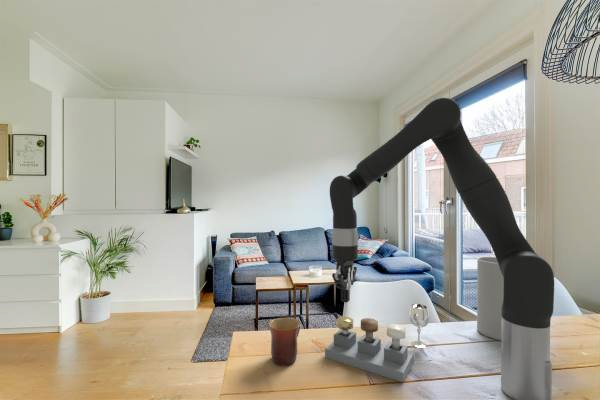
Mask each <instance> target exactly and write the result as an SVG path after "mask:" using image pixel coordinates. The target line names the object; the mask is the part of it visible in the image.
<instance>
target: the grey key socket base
mask: <svg viewBox="0 0 600 400" xmlns="http://www.w3.org/2000/svg"><path fill="white" fill-rule="evenodd" d="M381 340H382V339H381V338H379V337H375V336H373V344H372V343H368V342H366V334H363V335H362V336H361V337H358V336H357V332H355V331H352V330H348V337H346V336H342V329H339V330H338V331H336V332H335V333H334V334H333V341H332V342H331V343H330V344H329V345H327V347H325V348H324V357H325V358H326V359H329V360H333V361H335V362H339V363H342V364H345V365H347V366H351V367H354V368H357V369H361V370H363V371H366V372H370V373H373V374H376V375H379V376H382V377H385V378H388V379H392V380H395V381H397V382H400V383H404V382H405V380H406V378H407V376H408V374H409V372H410V370H411V368H412V366H413V364H414V362H415V352H414V351H410V350H408V347H409V346H408V345H406V344H402V343H400V351H398V350H395V349H392V341H390V340H389V341H388V342H387V344H384V343H381Z"/></svg>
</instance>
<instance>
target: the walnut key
mask: <svg viewBox="0 0 600 400" xmlns="http://www.w3.org/2000/svg"><path fill="white" fill-rule="evenodd" d="M360 329H361V330H362V331H363V332H365V335H366V342H368V343H372V344H373V337H374V332H375V333H376V332H378V331H379V321H378V320H377V319H375V318H370V317H369V318H368V317H365V318H361V320H360Z"/></svg>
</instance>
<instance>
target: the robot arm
mask: <svg viewBox="0 0 600 400" xmlns="http://www.w3.org/2000/svg"><path fill="white" fill-rule="evenodd" d="M461 112H462V111H461V107H460V105H459V104H458V103H457V102H456V101H455V100H454V99H452V98H449V97H439V98H436V99H434V100H432V101H430V102H429V103H427V105H425V107H424V108H423V109H422V110H420V111H419V112H418V114H417V115H416V116H414V117H413V119H412V120H411V121H410V122H409V123H407V125H406V126H404V127H403V128H402V129H401V130H400V131H399V132H398V133H396V134H395V135H394V136H392V137H391V138H390V139H389V140H387V142H385V143H383V144H381V146H379V147H378V148H377V149H376V150H374V151H373V152H371V153H370V154H369V155H367V156H366V157H364V158H363V159H362V160H361V161H359V163H357V164H356V167H355V169H353V170H352V171H351V172H349V174H347V175H338V176H335V177H334V178H333V179H332V181H331V182H330V185H329V199H330V204H331V205H330V206H331V209H332V236H331V238H332V239H331V240H332V245H331V246H332V249H331V251H332V253H331V254H332V255H331V258H332V259H333V260H335V261H336V265H335V267H336V268H335V269H336V272H335V273H332V275H331V276H332V280H333V282H334V284H335V286H336V289H340V301H341V302H342V303H348V302H350V298H351V297H350V296H351V291H350V290H351V288H352V286H353V285H354V282H355V277H356V274H357V270H358V267H357V266H354V261H357V260H358V259H359V246H358V244H359V242H358V241H359V236H358V228H357V227H358V225H357V224H358V220H357V217H358V216H357V215H358V214H357V212H356V211H357V210H355V208H354V198H356V197H357V196H358V195H360V194H361V193H362V192H363V191H364V190H366V189H367V188H368V187H369V186H370V185H371V184H372V183H374V182H376V181H377V180H378V179H380V178H382V177H383V176H384V175H386V174H387V173H389V172H390V171H391V170H393V169H394V168H395V167H396V166H397V165H398V164H399V163H401V162H402V161H403V160H404V159H405V158H406V157H407V156H408V155H409V154H410V153H412V151H414V150H416V149H417V148H418V147H420V146H421V145H423V144H424V143H426V142H428V141H429V140H431V141H432V142H433V143H434V145H435V146H436V148H437V150H438V151H439V152H440V154H441V155H442V158H443V159H444V162H445V164H446V166H447V169H448V172H449V175H450V178H451V179H452V182H453V184H454V185H453V186H455V187H454V188H456V191H457V193H458V194H459V197H460V199H461V200H462V202H463V204H464V205H465V208H466V210H467V211H468V213H469V214H470V216H471V217H472V219H473V221H474V223H476V224H477V226H478V227H479V229H480V230H481V232H482V233H483V234H484V235H485V236H484V237H486V239H487V241H488V243H489V245H490V247H491V249H492V251H493V254H494V257H496V259H497V262H498V264H499V267H500V270H501V273H502V275H503V277H504V296H503V305H502V326H501V340H500V341H501V342H500V343H501V345H500V346H501V349H500V356H501V357H500V388H501V390H502V391H503V392H504V394H505V395H507V396H508V397H510V398H511V399H513V400H553V398H552V397H553V394H552V392H553V391H552V390H553V387H552V386H553V385H552V384H553V382H552V381H553V365H552V361H551V319H552V316H553V315H554V305H555V304H554V301H555V274H554V271H553V268H552V267H551V265H550V264H549V263H548V262H547V261H546V260H545V259H544V258H542V257H541V256H539V254H537V253H536V252H535V250H534V248H533V247H532V246H531V245H530V243H529V242H528V240H527V239H526V236H525V235H524V234H523V233H522V231H521V229H520V227H519V225H518V222H517V220H516V217H515V213H514V211H513V208H512V205H511V202H510V200H509V197H508V195H507V193H506V191H505V189H504V187H503V185H502V183H501V182H500V179H498V177H497V174H496V173H495V172H494V171H493V169H492V168H491V166H490V165H489V164H488V162H487V161H486V160H485V159H484V158H483V157H482V156H481V155H480V154H479V152H478V151H477V150H476V149H475V148H474V146H473V145H472V143H471V141H470V140H469V138H468V135H467V133H466V131H465V128H464V126H463V123H462V120H461V117H462V116H461V115H462V113H461Z"/></svg>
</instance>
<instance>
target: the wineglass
mask: <svg viewBox="0 0 600 400" xmlns="http://www.w3.org/2000/svg"><path fill="white" fill-rule="evenodd" d="M408 317H409V321H410V323H411V325H413V326H414V327H416V328H417V329H416V331H417V340H414V341H413V340H412V341H411V343H410V345H412V347H416V348H419V349H424V348H426V347H427V344H426V343H425V342H423V341H421V337H420V335H421V331H422V330H421V328H424V327H426V326H428V325H429V323H430V322H429V321H430V315H429V309H428V306H427V305H424V304H420V303H413V304H411V305H410V309H409V314H408Z"/></svg>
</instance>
